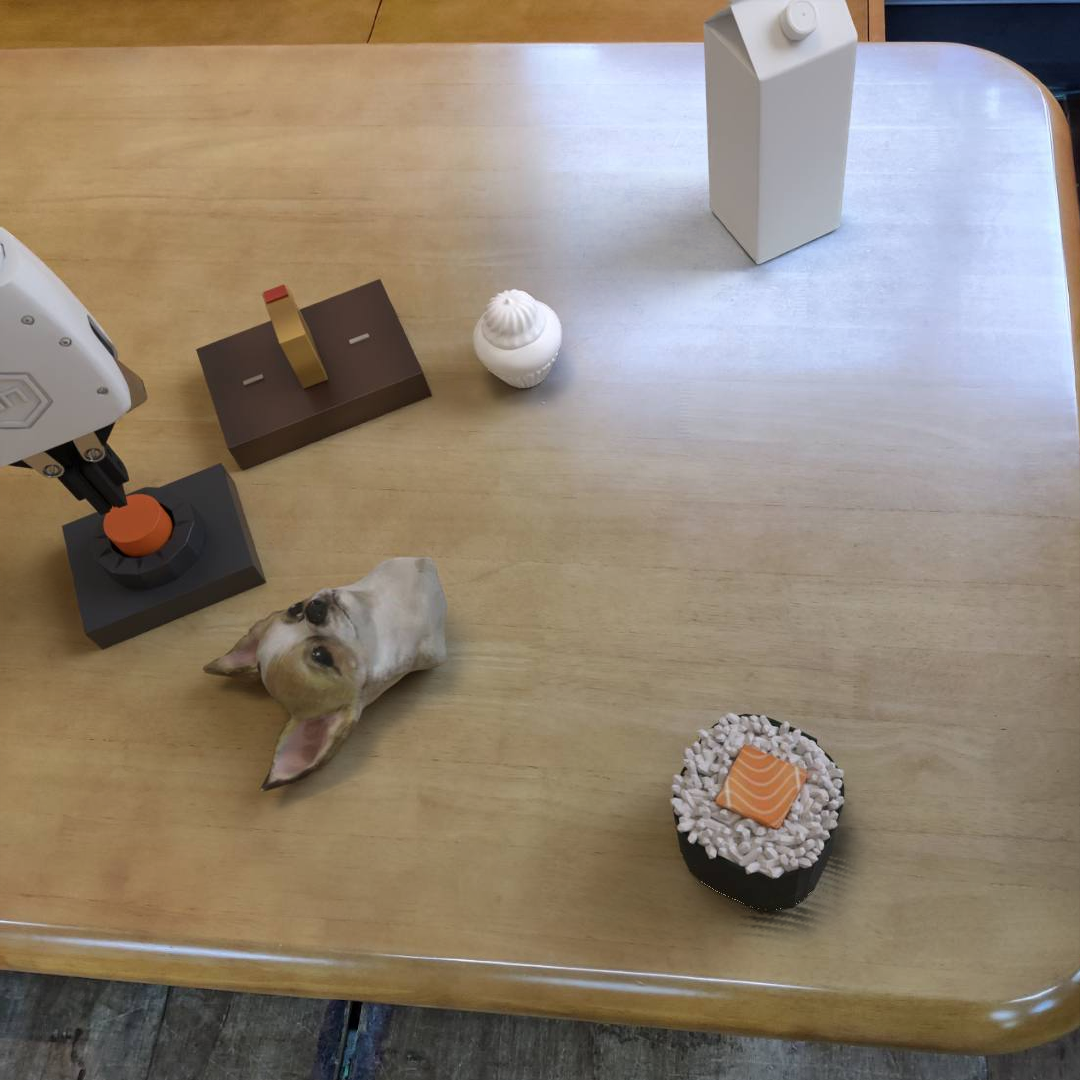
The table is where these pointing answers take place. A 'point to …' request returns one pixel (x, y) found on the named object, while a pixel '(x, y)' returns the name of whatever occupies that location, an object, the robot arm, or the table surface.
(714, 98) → the milk carton
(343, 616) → the ceramic sculpture
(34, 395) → the robot arm
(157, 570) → the push button base
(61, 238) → the table surface
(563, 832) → the table surface
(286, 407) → the plate
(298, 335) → the lock knob
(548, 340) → the muffin
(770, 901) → the sushi
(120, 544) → the bell button
